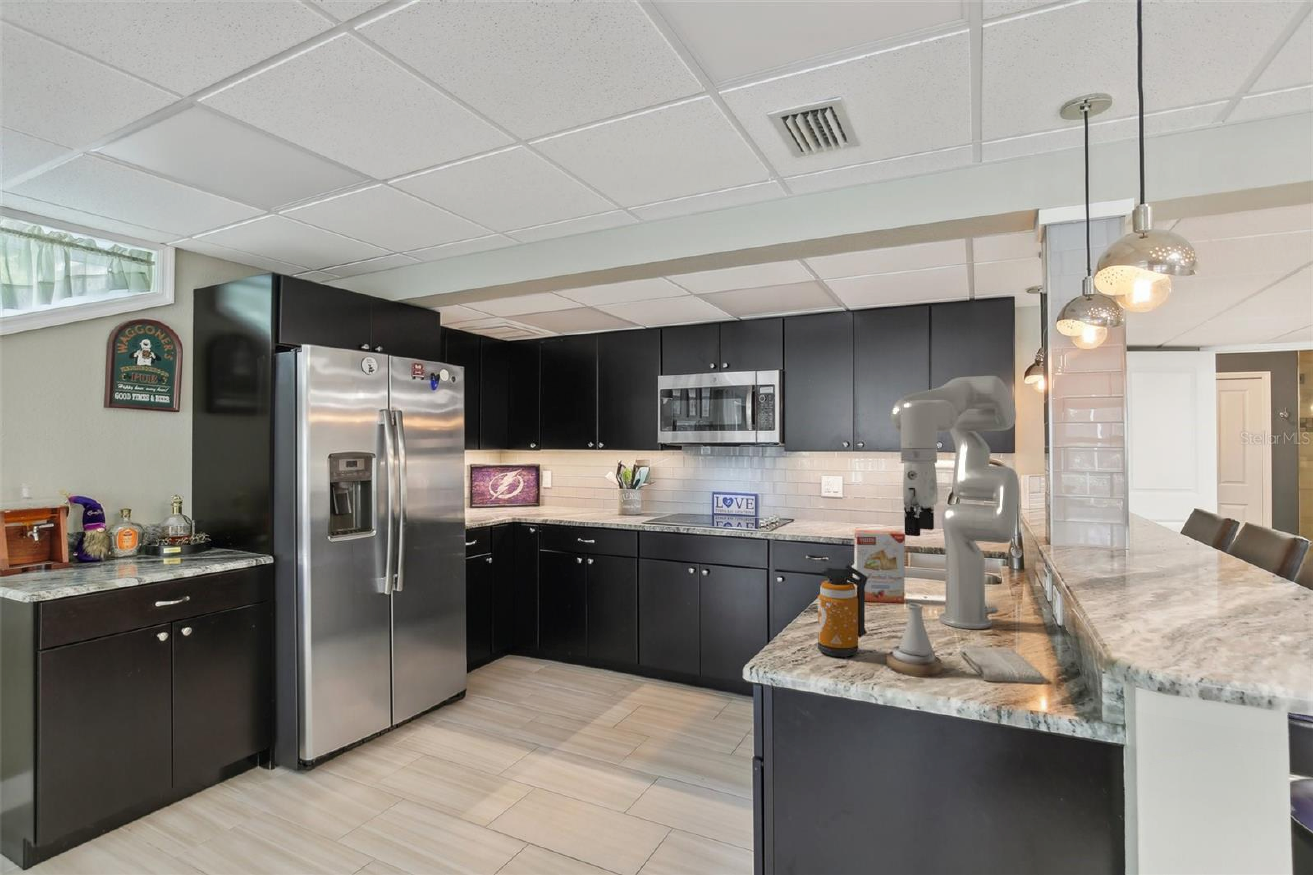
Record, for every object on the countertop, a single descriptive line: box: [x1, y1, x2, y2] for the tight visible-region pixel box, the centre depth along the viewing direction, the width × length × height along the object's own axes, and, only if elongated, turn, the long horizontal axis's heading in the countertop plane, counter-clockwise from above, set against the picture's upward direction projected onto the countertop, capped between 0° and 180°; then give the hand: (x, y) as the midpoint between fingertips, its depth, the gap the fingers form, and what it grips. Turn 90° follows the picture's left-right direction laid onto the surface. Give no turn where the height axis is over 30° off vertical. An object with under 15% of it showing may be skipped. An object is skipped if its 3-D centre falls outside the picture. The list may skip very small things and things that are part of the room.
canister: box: [817, 564, 868, 658], centre depth 155 cm, size 9×11×20 cm
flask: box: [898, 602, 934, 656], centre depth 145 cm, size 7×7×10 cm
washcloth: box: [959, 645, 1044, 684], centre depth 145 cm, size 12×18×3 cm, turn 174°
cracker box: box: [853, 529, 906, 604], centre depth 203 cm, size 14×6×21 cm, turn 81°
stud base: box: [886, 645, 942, 678], centre depth 145 cm, size 11×11×4 cm
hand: (919, 532), depth 151 cm, fingers open, 9 cm apart
